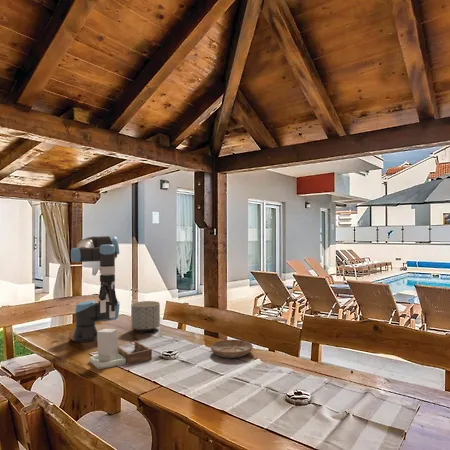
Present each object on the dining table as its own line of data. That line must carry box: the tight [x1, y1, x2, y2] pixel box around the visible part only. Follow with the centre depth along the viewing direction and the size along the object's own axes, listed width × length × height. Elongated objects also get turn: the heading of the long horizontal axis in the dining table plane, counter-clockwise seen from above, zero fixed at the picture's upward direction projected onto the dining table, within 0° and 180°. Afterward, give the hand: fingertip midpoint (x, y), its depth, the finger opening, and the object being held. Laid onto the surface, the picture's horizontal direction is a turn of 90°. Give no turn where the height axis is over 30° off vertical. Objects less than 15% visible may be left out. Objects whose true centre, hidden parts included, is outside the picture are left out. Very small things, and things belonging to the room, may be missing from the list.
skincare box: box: [96, 328, 119, 362], centre depth 198 cm, size 8×7×16 cm
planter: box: [130, 300, 161, 333], centre depth 260 cm, size 19×19×18 cm
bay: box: [118, 340, 153, 365], centre depth 207 cm, size 20×13×5 cm, turn 37°
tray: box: [89, 353, 127, 370], centre depth 197 cm, size 14×14×3 cm
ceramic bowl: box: [210, 339, 253, 359], centre depth 210 cm, size 23×24×5 cm
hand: (107, 315), depth 198 cm, fingers open, 13 cm apart
